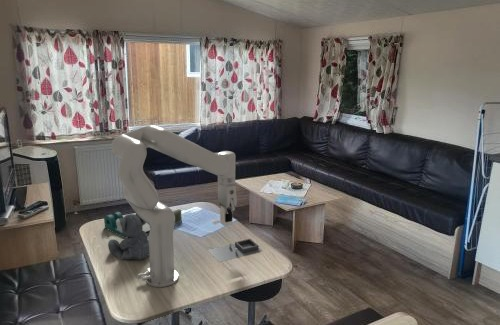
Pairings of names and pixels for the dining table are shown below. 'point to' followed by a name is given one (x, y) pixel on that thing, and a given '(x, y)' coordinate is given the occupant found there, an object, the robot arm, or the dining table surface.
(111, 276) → the dining table surface
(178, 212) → the handheld radio
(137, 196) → the robot arm
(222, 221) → the cream rectangular block
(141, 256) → the koala plush
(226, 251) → the grey base with tray
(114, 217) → the dark green rounded piece
